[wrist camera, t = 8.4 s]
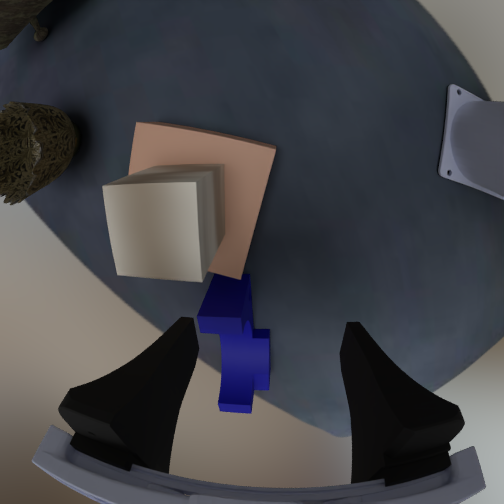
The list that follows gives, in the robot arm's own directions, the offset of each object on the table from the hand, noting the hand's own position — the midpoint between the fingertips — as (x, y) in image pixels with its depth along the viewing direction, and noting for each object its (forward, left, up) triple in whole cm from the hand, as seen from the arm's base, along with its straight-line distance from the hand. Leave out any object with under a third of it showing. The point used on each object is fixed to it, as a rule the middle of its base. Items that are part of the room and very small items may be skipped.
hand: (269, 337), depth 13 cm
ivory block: (+6, -4, -7) cm, 10 cm away
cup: (+19, -8, -11) cm, 23 cm away
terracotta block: (+6, -4, -11) cm, 13 cm away
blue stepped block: (+2, +9, -11) cm, 14 cm away
